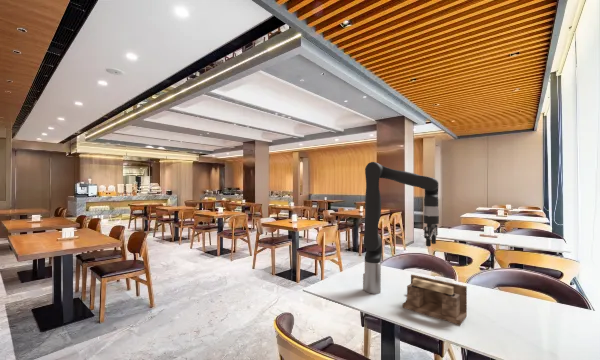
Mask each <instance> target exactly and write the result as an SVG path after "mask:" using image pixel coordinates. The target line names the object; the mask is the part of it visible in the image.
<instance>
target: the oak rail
mask: <svg viewBox="0 0 600 360" xmlns="http://www.w3.org/2000/svg"><path fill="white" fill-rule="evenodd" d="M413 287H415V288H417V287H421V288H425V289H429V290H433V291H438V292H442V293H446V294H448V296H451V297H454V287H452V286H448V285H444V284H439V283H435V282H430V281H426V280H421V279H417V278H414V279H413Z"/></svg>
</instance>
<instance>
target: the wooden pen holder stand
mask: <svg viewBox="0 0 600 360" xmlns="http://www.w3.org/2000/svg"><path fill="white" fill-rule="evenodd" d="M414 278H417V279H421V280H426V281H430V282H435V283H439V284H444V285H448V286H452V287H454V297H451V296H448V294H446V293H442V292H438V291H433V290H429V289H425V288H421V287H417V288H415V287H413V279H414ZM467 289H468V287H467V286H466V285H463V284H462V285H461V284H457V283H453V282H449V281H443V280H439V279H435V278H430V277H427V276H421V275H418V274H417V275H416V274H410V284H408V285H407V286H406V301H403V303H402V308H403V309H407V310H409V311H412V312H416V313H418V314H419V313H420V314H423V315H426V316H430V317H432V318H436V319H440V320H442V321H445V322H449V323H452V324H455V325H459V326H461V325H462V323H463V322H464V320H465V319H466V318H467V315H468V314H467V312H468V308H467V307H468V305H467V303H468V301H467V295H468V294H467V293H468V292H467V291H468V290H467Z"/></svg>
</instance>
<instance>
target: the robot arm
mask: <svg viewBox="0 0 600 360" xmlns="http://www.w3.org/2000/svg"><path fill="white" fill-rule="evenodd" d="M364 174H365V196H364V197H365V202H364V224H365V225H364V234H363V247H364V248H365V249H366V250H365V255H364V273H363V274H362V276H363V277H362V290H363V291H364V292H366V293H369V294H375V295H377V294H380V293H381V290H382V285H381V284H382V274H381V273H382V262H381V261H382V255H383V241H382V240H383V239H382V238H381V235H380V234H379V223H380V219H381V214H382V196H381V191H380V179H386V180H391V181H394V182H397V183H400V184H403V185H406V186H407V185H408V186H410V187H411V186H412V187H417V188H420V189H423V190H424V198H423V217H422V218H423V223H424V224H425V225H426V226H424V231H423V232H424V234H423V235H424V236H423V238H424V239H425V246H426V247H431V245H436V244H437V236H438V235H439V233H438V225H439V224H440V210H439V209H440V208H439V196H438V195H439V181H438V179H436V178H434V177H430V176H426V175H420V174H417V173H413V172H409V171H404V170H400V169H399V170H397V169H393V168H390V167H387V166H385V165H382V164H380V163H378V162H375V161H369V163H367V164H366V166H365V168H364Z"/></svg>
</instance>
